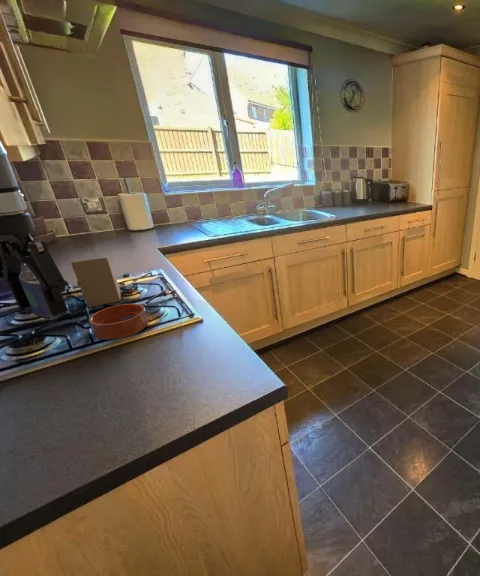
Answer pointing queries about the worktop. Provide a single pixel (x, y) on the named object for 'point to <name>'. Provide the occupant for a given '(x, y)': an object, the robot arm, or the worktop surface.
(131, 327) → the bowl
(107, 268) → the sandwich container
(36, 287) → the flask
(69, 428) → the worktop surface
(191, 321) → the worktop surface
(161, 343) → the worktop surface
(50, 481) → the worktop surface
